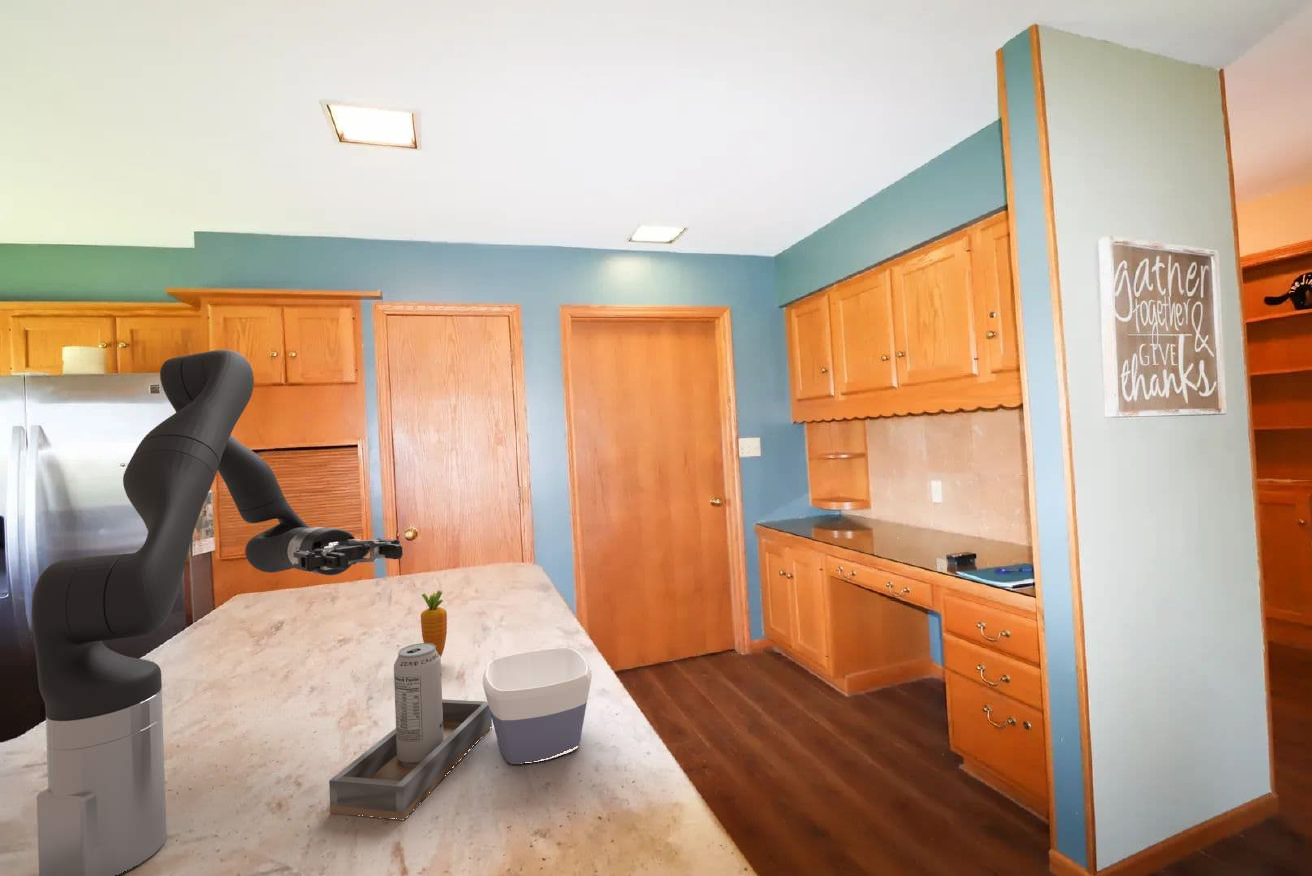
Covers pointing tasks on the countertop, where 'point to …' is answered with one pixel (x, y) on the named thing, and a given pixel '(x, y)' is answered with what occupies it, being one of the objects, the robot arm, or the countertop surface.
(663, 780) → the countertop surface
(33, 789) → the countertop surface
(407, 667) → the energy drink can
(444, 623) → the carrot
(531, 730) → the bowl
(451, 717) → the rectangular tray
